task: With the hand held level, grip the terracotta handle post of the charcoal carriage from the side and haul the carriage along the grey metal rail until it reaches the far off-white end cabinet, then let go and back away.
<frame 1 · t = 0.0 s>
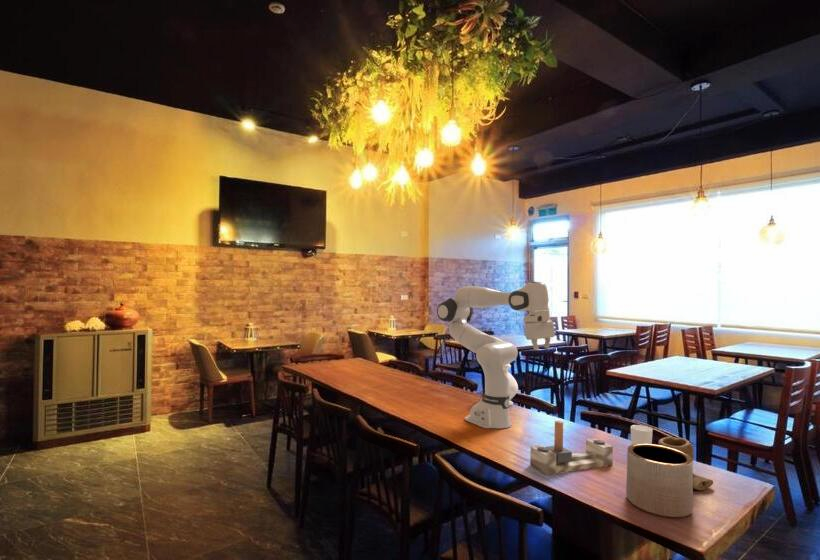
hand: (541, 348, 193), 39 cm above the table, tool pointing down, fingers open, 8 cm apart
rail track: (571, 465, 162), on the table
carriage: (558, 441, 160), point 9 cm above the table, slide at 0.0 cm
white cup: (641, 453, 176), on the table
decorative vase: (501, 403, 248), on the table
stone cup: (681, 484, 149), on the table
planter: (658, 505, 134), on the table
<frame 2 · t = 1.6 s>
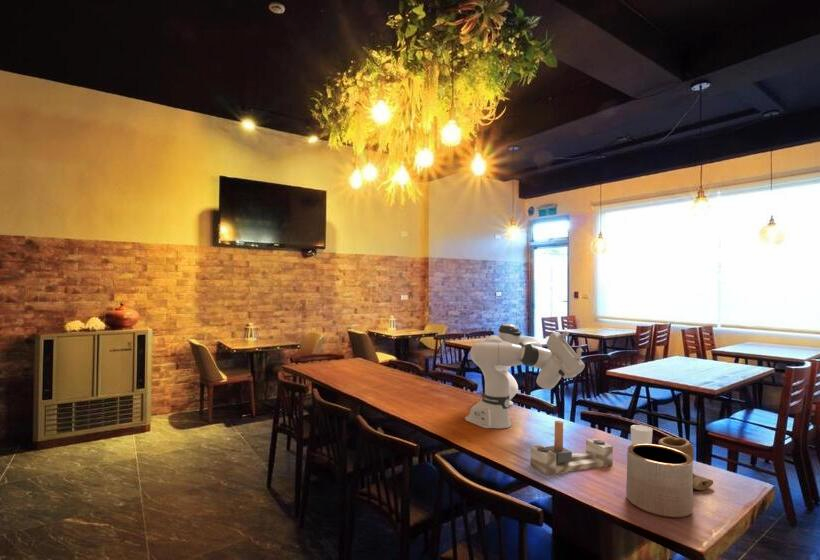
hand: (573, 340, 182), 44 cm above the table, tool pointing upward, fingers open, 8 cm apart
nothing on the table moved.
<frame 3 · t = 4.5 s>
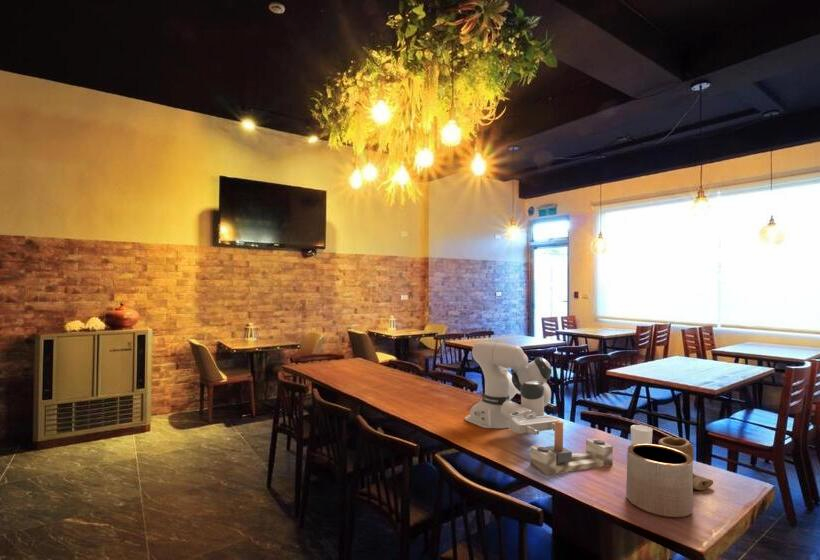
hand: (547, 431, 168), 11 cm above the table, tool horizontal, fingers open, 8 cm apart
nothing on the table moved.
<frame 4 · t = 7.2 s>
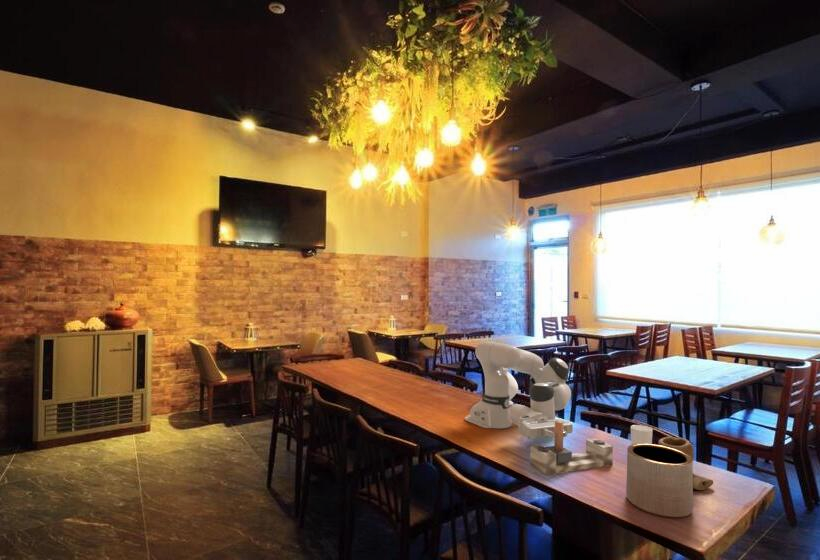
hand: (560, 435, 160), 12 cm above the table, tool horizontal, fingers closed on carriage, 3 cm apart
carriage: (558, 441, 160), point 9 cm above the table, slide at 0.0 cm, touching gripper
everything else where it was.
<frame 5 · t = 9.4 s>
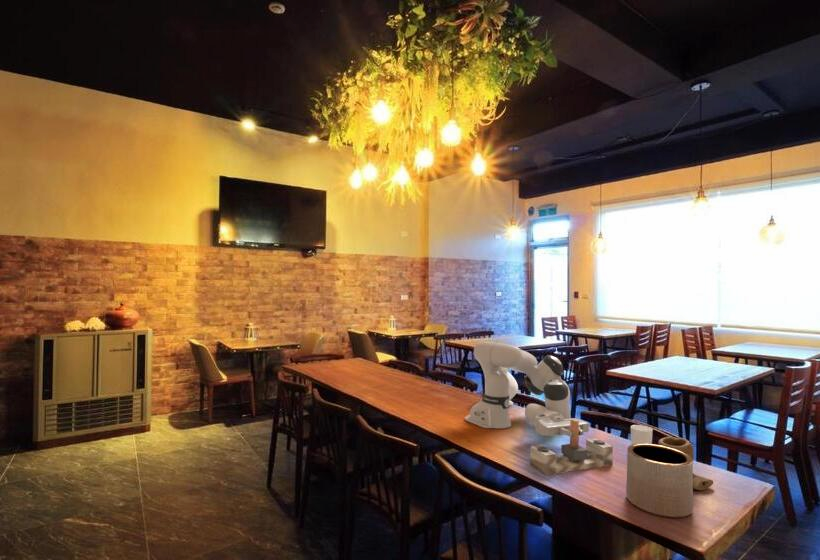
hand: (577, 433, 161), 12 cm above the table, tool horizontal, fingers closed on carriage, 3 cm apart
carriage: (574, 439, 163), point 9 cm above the table, slide at 7.1 cm, touching gripper
everything else where it was.
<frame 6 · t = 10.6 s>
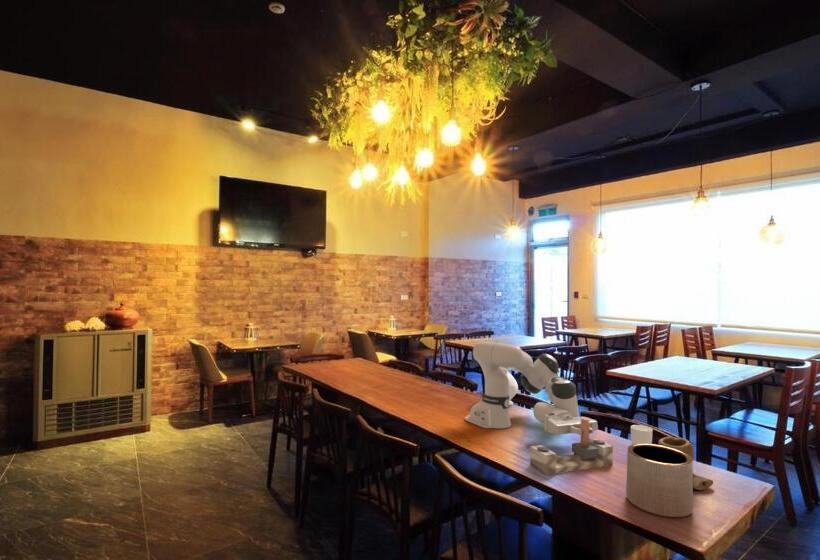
hand: (586, 432, 164), 12 cm above the table, tool horizontal, fingers closed on carriage, 3 cm apart
carriage: (584, 438, 164), point 9 cm above the table, slide at 12.0 cm, touching gripper
everything else where it was.
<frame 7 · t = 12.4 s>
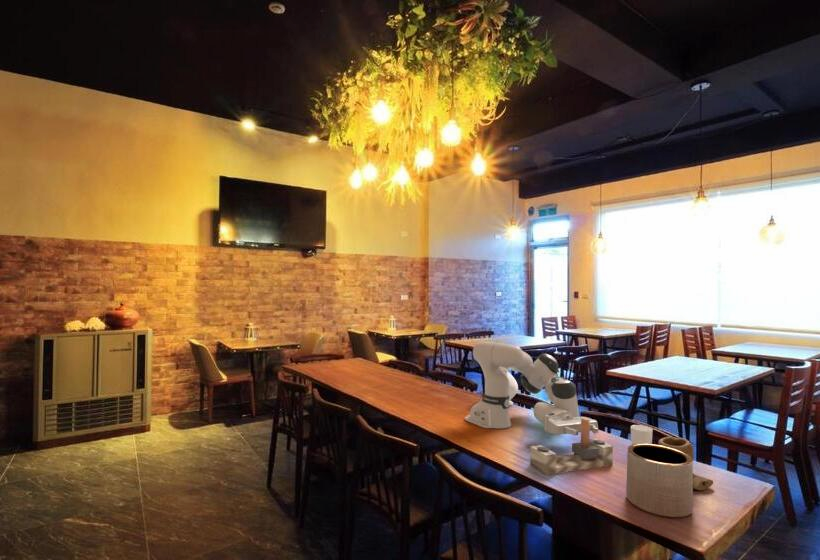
hand: (586, 432, 164), 12 cm above the table, tool horizontal, fingers open, 8 cm apart
carriage: (585, 438, 164), point 9 cm above the table, slide at 12.0 cm
everything else where it was.
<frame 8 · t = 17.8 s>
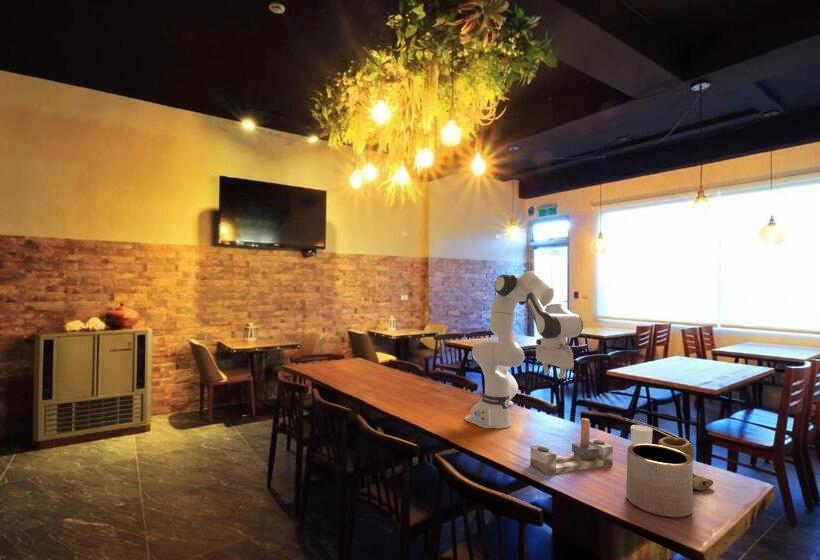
hand: (553, 375, 182), 29 cm above the table, tool pointing down, fingers open, 8 cm apart
nothing on the table moved.
at the end: carriage slide at 12.0 cm; the gripper is holding nothing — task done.
